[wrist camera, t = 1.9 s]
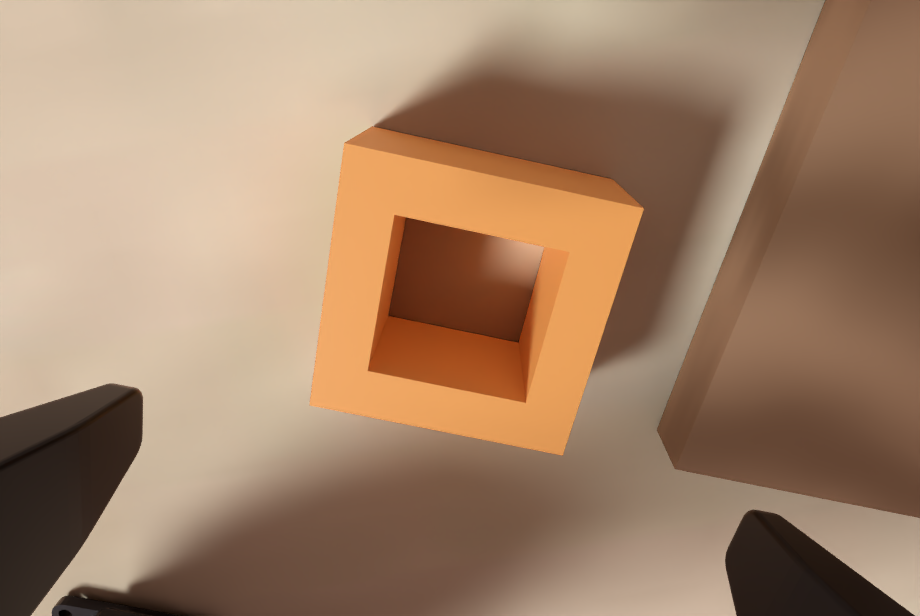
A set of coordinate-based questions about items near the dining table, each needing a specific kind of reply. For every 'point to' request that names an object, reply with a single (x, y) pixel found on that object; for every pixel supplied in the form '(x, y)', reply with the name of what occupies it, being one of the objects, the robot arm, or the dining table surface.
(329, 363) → the orange square ring
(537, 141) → the dining table surface
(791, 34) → the dining table surface
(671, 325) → the dining table surface
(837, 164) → the brown peg board
